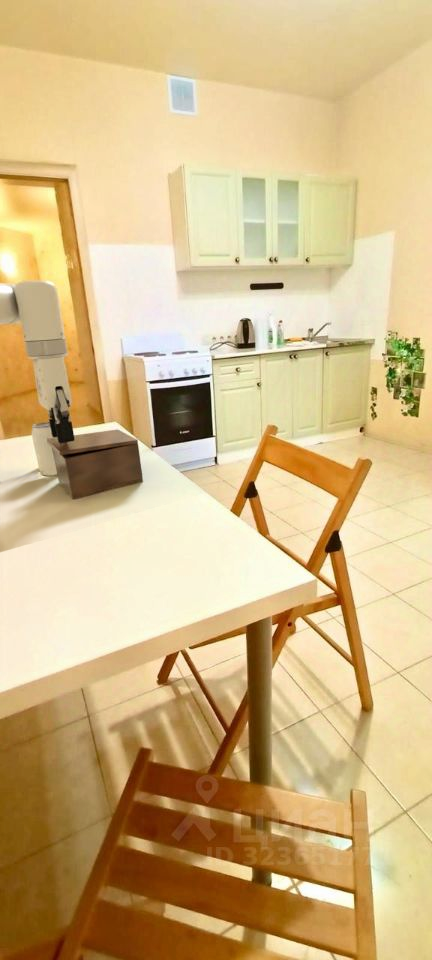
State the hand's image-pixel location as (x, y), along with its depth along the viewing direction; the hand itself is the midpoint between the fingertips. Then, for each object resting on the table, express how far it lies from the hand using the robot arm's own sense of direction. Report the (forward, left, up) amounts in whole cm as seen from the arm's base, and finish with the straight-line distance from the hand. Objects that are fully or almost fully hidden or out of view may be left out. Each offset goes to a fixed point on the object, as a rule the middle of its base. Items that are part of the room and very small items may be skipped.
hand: (63, 438), depth 94 cm
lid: (+6, 0, -2) cm, 6 cm away
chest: (+6, 0, -12) cm, 13 cm away
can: (-1, +15, -12) cm, 19 cm away
